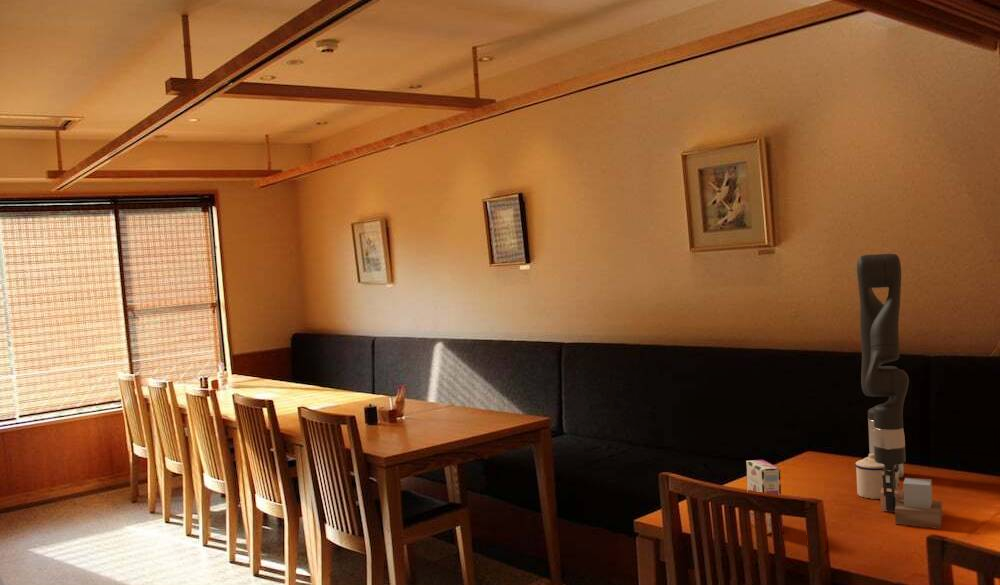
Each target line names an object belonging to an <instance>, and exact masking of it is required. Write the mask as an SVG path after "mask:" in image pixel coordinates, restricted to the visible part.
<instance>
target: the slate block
mask: <svg viewBox="0 0 1000 585" xmlns="http://www.w3.org/2000/svg"><path fill="white" fill-rule="evenodd" d="M932 486H933V484H932V479H930V478H915V477H913V478H912V477H905V478H904V480H903V482H902V487H903V488H902V489H903V499H904V507H909V508H921V509H931V506H932V501H933V490H932V489H933V487H932Z"/></svg>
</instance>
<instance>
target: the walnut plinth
mask: <svg viewBox="0 0 1000 585" xmlns="http://www.w3.org/2000/svg"><path fill="white" fill-rule="evenodd" d="M894 517H895V519H894V520H895V521H894V522H895V525H896V524H901V525H900V526H907V525H912V526H911V527H917V526H919V527H920V528H928V527H932V528H931V529H939V528H940V529H941V527H942V526H941V525H942V521H943V501H942V500H941V501H939V500H932V506H931V509H921V508H909V507H904V497H903V498H899V499H898V502H897V504H896V507H895V512H894ZM902 524H903V525H902ZM940 526H941V527H940ZM919 527H918V528H919ZM934 527H935V528H934Z"/></svg>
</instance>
